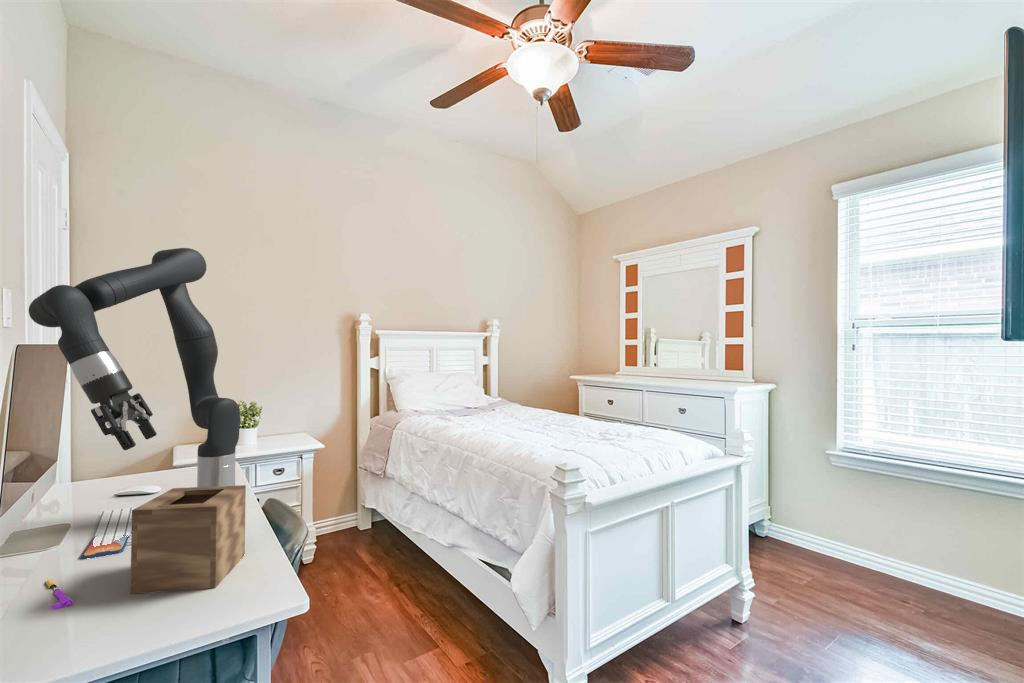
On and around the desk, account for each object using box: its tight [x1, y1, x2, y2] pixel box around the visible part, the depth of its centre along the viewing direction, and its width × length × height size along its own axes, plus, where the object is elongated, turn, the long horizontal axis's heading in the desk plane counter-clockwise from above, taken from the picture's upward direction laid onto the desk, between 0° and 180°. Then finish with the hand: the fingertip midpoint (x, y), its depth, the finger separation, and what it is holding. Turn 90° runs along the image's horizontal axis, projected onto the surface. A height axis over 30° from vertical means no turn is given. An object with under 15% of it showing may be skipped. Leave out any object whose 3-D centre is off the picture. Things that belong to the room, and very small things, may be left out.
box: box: [129, 484, 247, 595], centre depth 100 cm, size 15×15×16 cm
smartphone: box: [81, 535, 130, 560], centre depth 115 cm, size 7×15×1 cm, turn 32°
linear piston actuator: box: [44, 579, 74, 611], centre depth 91 cm, size 3×1×16 cm
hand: (141, 442), depth 104 cm, fingers open, 8 cm apart
